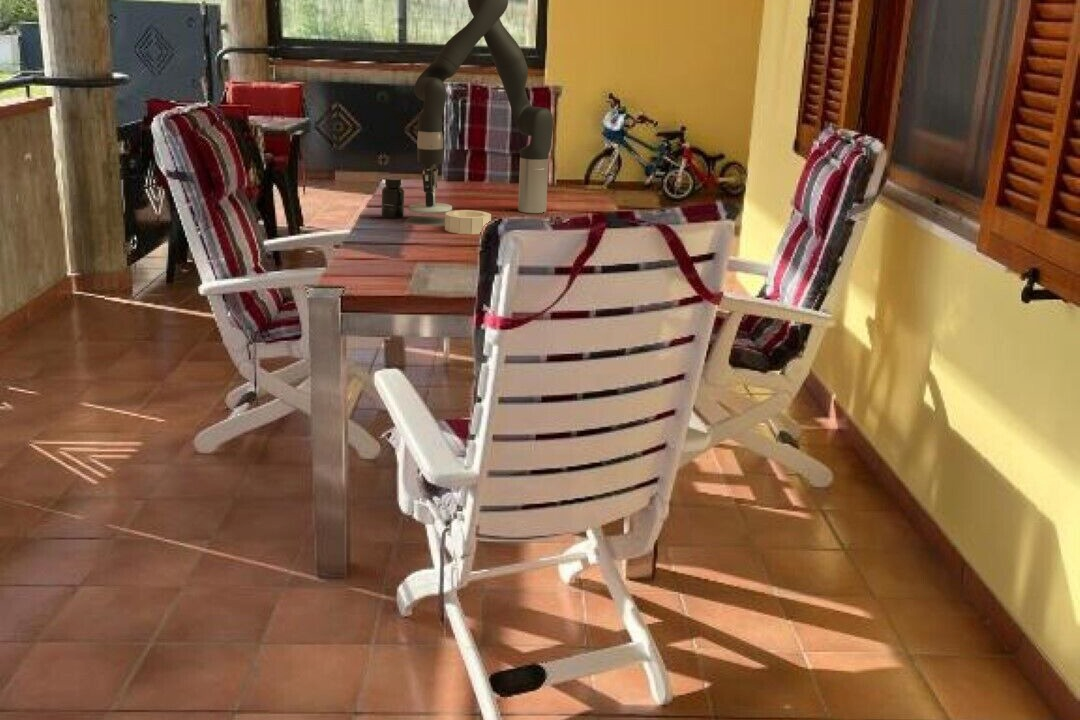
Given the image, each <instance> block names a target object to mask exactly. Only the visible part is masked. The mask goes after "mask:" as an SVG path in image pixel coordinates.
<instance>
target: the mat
mask: <svg viewBox="0 0 1080 720" xmlns="http://www.w3.org/2000/svg"><path fill="white" fill-rule="evenodd" d="M402 225H417V226H431V227H433V226H434V227H435V226H437V227H445V216H444V217H442V216H441V217H438V216H424V215H423V216H420V215H410V216H409V217H408V218H407V219H406V220H405V221H404V222H403V223H402Z"/></svg>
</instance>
